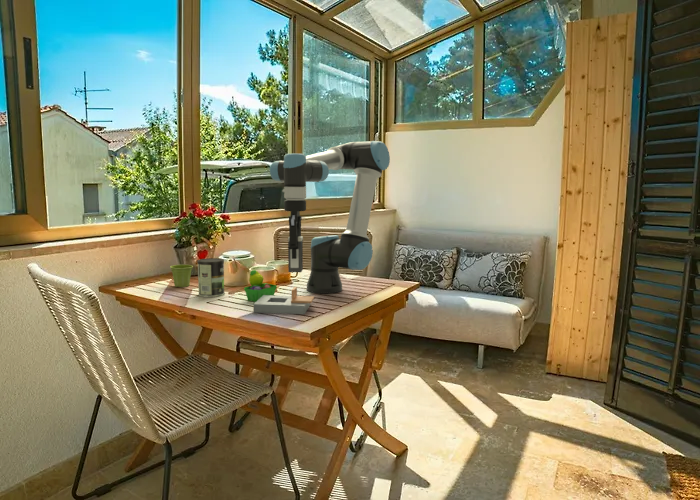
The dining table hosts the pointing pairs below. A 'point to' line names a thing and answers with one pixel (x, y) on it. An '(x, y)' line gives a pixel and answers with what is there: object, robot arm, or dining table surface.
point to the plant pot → (181, 275)
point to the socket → (279, 305)
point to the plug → (300, 247)
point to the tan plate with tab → (300, 297)
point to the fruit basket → (258, 287)
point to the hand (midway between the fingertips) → (295, 266)
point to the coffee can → (211, 277)
